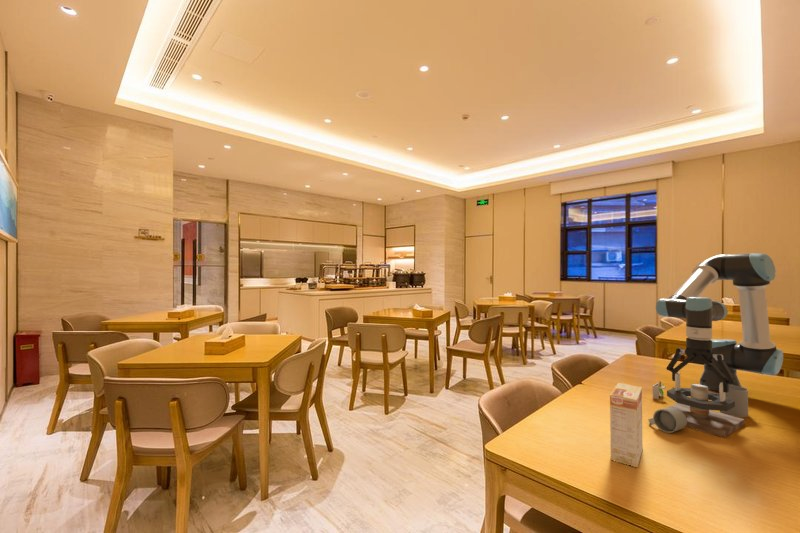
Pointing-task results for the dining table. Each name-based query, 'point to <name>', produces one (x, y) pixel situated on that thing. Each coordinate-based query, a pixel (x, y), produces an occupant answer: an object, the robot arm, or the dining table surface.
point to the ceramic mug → (669, 419)
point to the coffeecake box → (626, 424)
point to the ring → (715, 404)
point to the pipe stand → (708, 416)
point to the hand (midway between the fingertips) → (699, 395)
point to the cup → (737, 401)
